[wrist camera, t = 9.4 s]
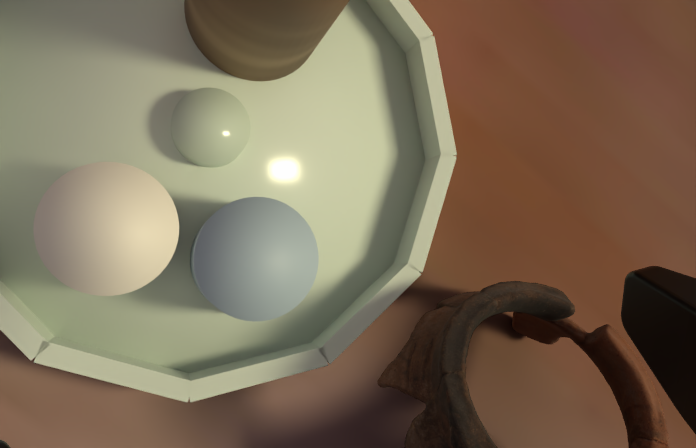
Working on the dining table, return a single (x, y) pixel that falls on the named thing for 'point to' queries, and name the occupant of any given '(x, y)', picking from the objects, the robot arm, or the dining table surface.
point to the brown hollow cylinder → (530, 320)
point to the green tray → (218, 181)
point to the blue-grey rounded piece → (254, 259)
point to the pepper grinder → (259, 33)
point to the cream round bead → (106, 228)
